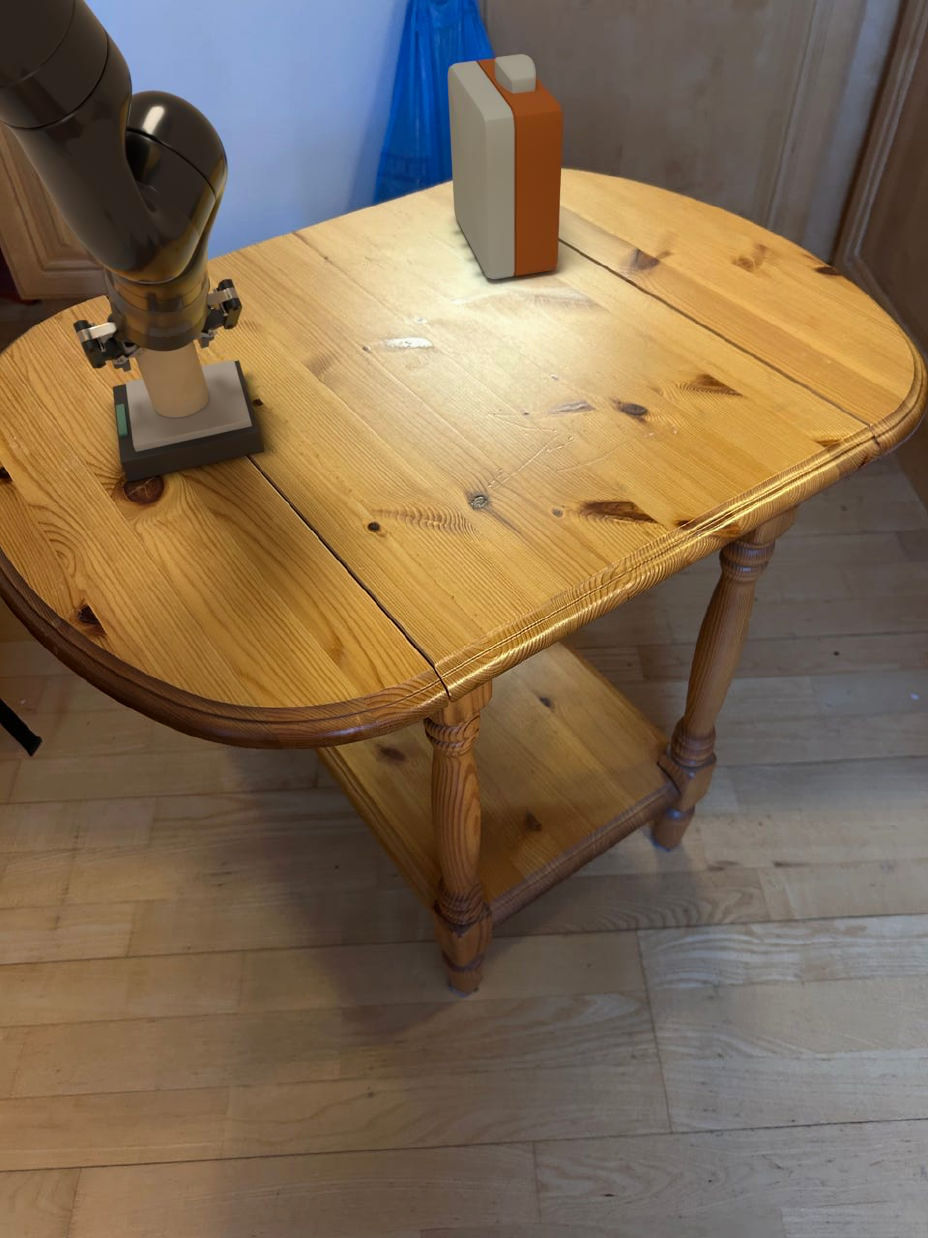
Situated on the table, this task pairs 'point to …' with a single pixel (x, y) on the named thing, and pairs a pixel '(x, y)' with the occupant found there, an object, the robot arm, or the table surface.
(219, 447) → the scale
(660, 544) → the table surface
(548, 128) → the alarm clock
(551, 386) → the table surface
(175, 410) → the candle
